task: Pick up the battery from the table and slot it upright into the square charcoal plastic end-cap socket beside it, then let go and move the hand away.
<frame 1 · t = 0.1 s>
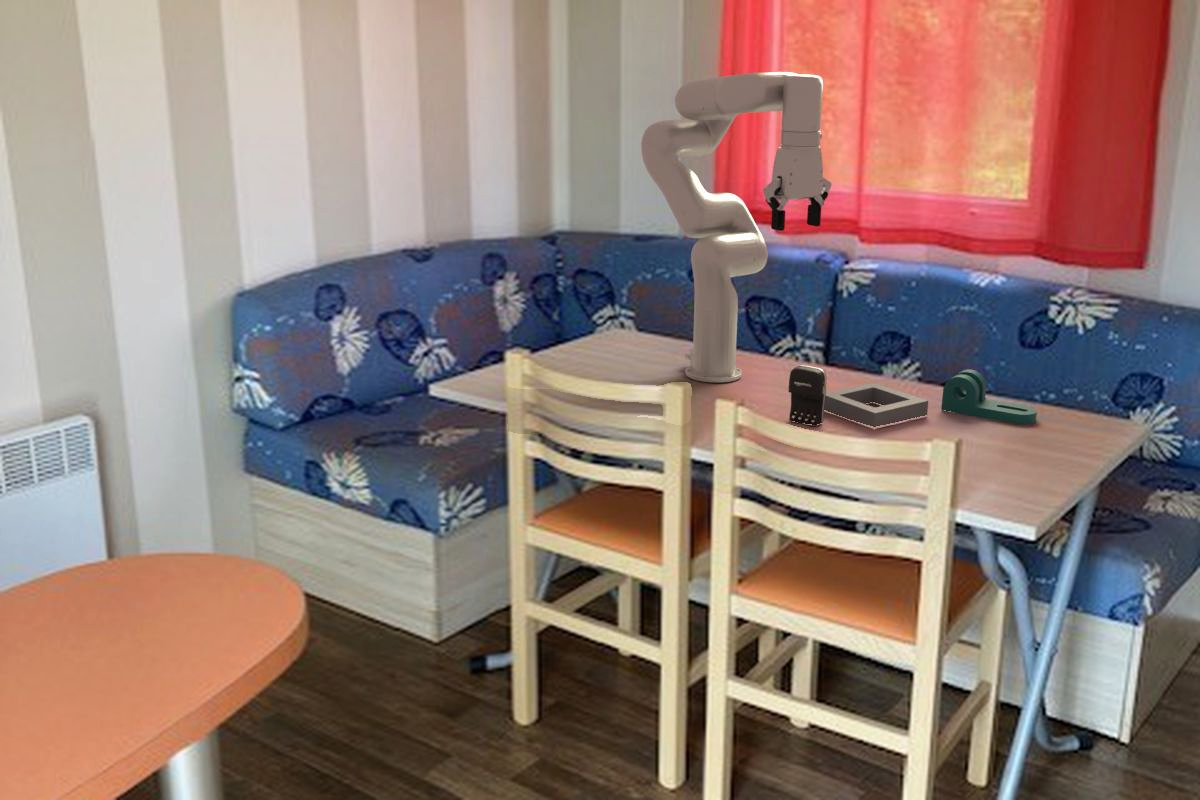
hand: (795, 227, 244), 37 cm above the table, tool pointing down, fingers open, 9 cm apart
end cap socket: (873, 413, 249), on the table
bracket: (989, 416, 249), on the table
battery: (804, 424, 243), on the table
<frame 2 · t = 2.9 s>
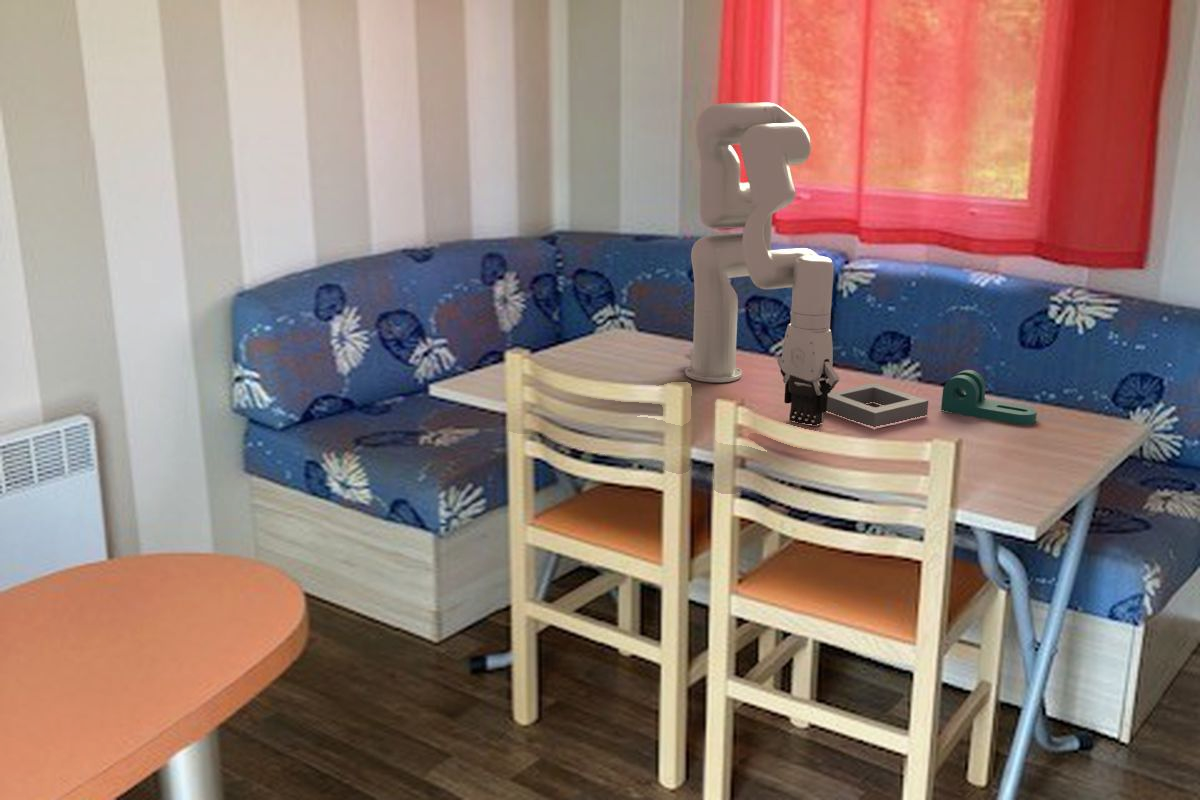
hand: (805, 406, 242), 3 cm above the table, tool pointing down, fingers closed on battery, 7 cm apart
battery: (804, 424, 243), on the table, touching gripper
everything else where it was.
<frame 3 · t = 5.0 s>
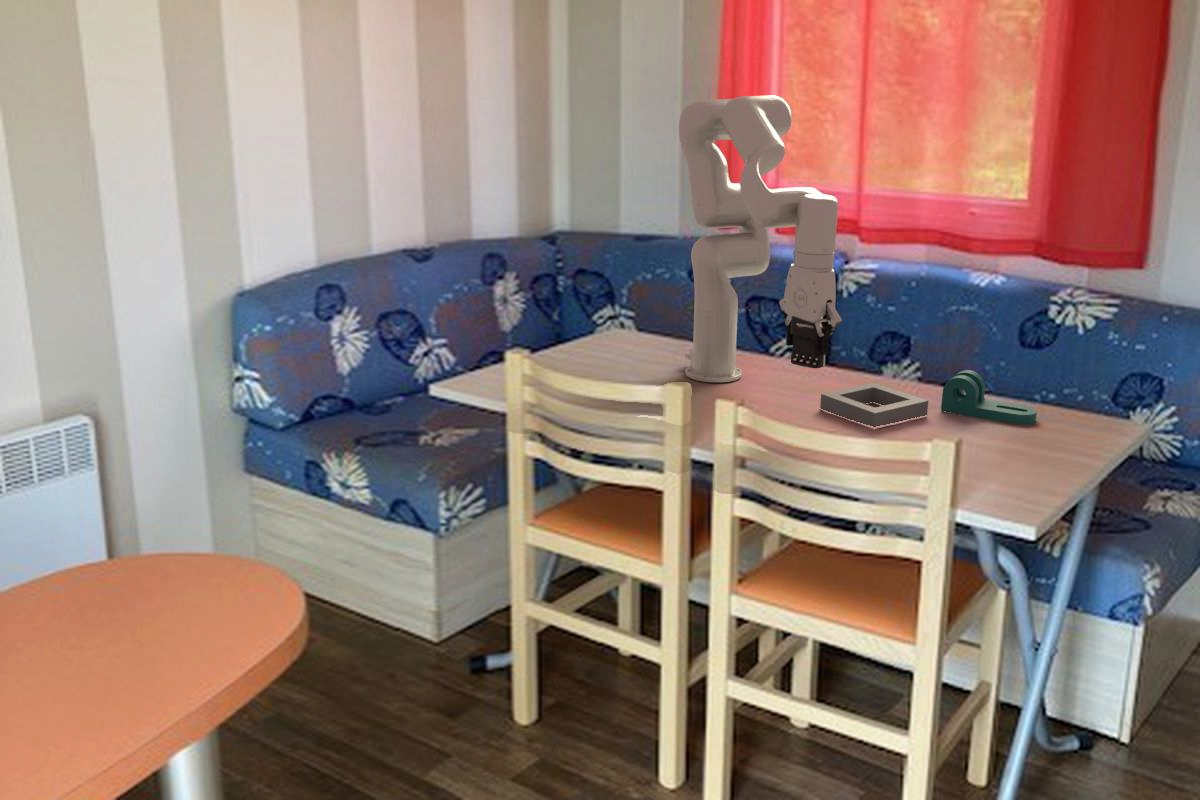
hand: (806, 349, 239), 15 cm above the table, tool pointing down, fingers closed on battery, 7 cm apart
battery: (805, 366, 240), point 11 cm above the table, touching gripper
everything else where it was.
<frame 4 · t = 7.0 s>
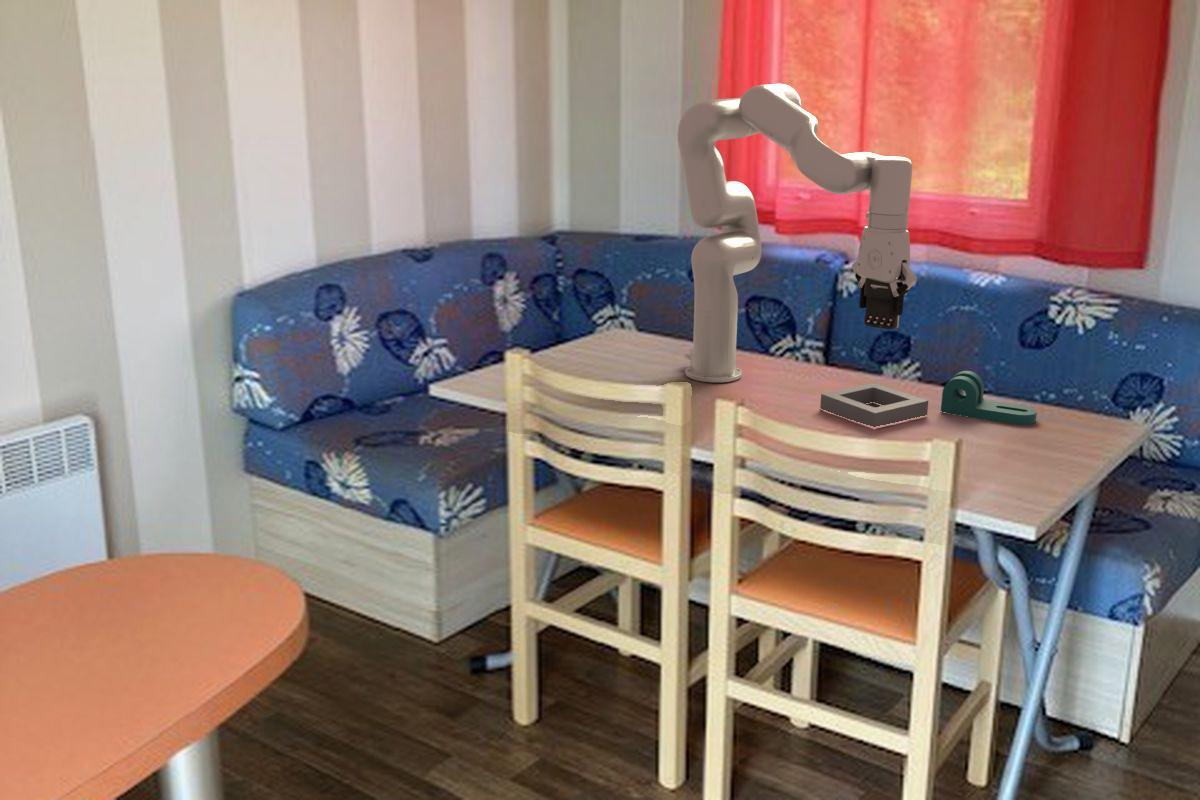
hand: (880, 310, 243), 21 cm above the table, tool pointing down, fingers closed on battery, 7 cm apart
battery: (879, 328, 244), point 18 cm above the table, touching gripper
everything else where it was.
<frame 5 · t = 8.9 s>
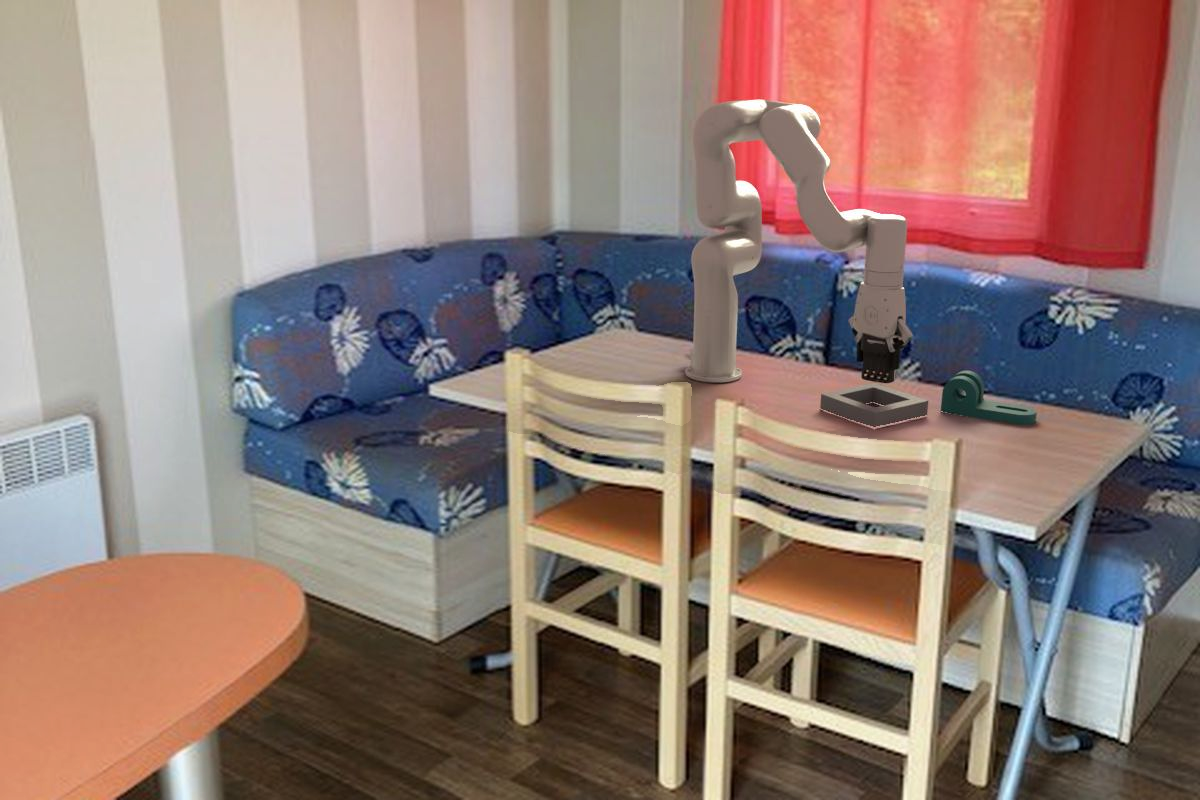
hand: (877, 364, 246), 10 cm above the table, tool pointing down, fingers closed on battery, 7 cm apart
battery: (876, 382, 247), point 7 cm above the table, touching gripper
everything else where it was.
when the fingers open (5 cm above the table, at t = 10.6 s): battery drops 1 cm, resting in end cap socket.
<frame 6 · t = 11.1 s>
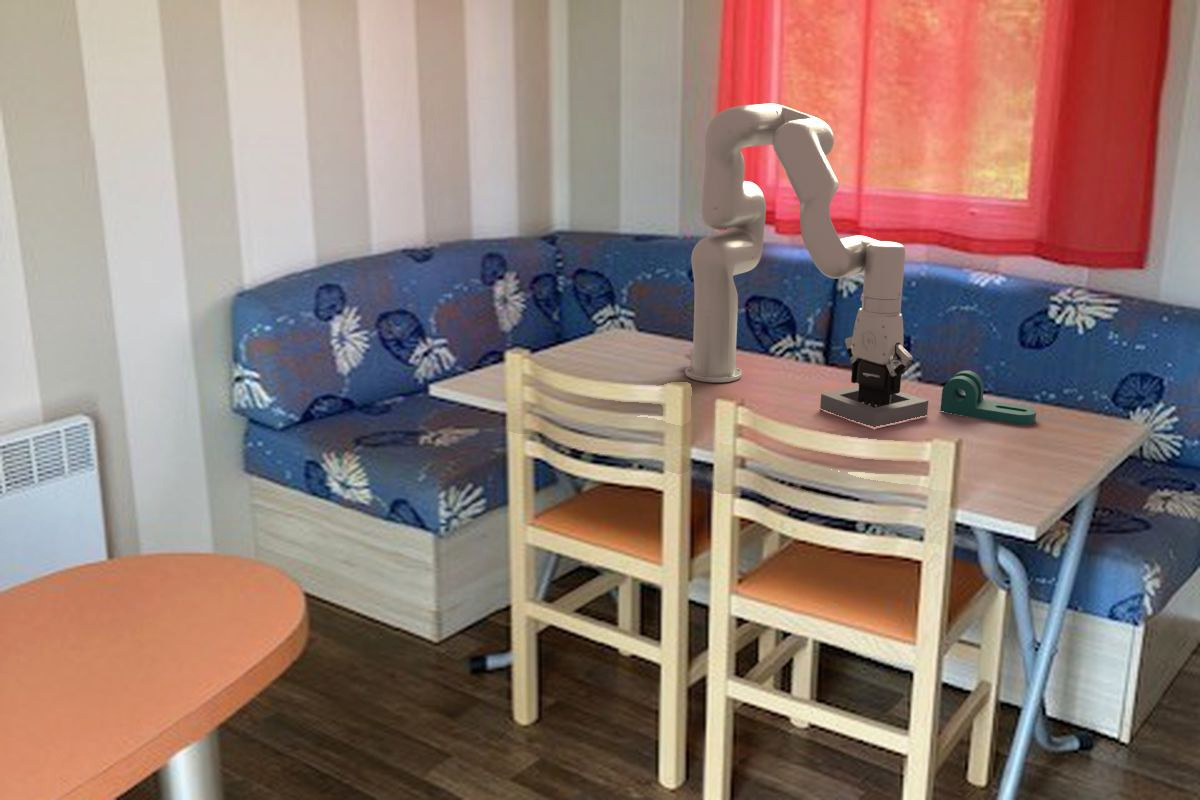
hand: (875, 387, 247), 6 cm above the table, tool pointing down, fingers open, 9 cm apart
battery: (871, 414, 249), resting in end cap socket
everything else where it was.
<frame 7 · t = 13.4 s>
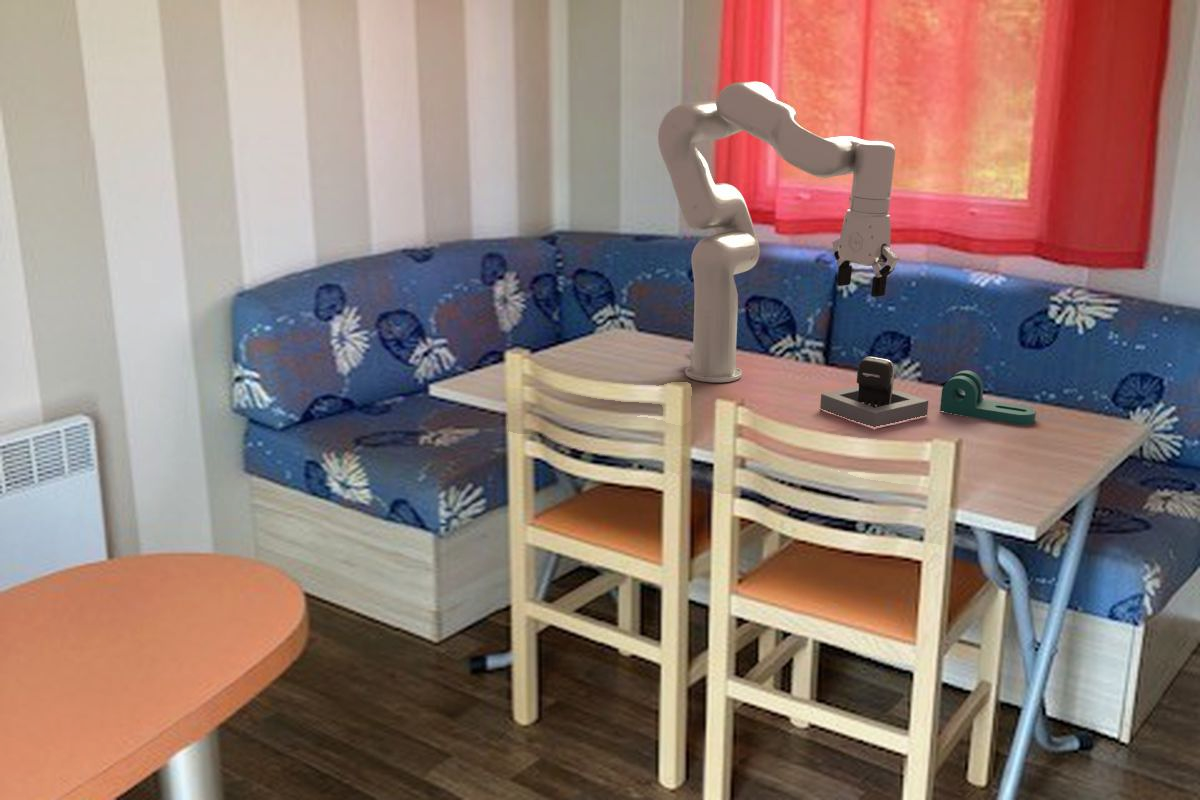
hand: (860, 290, 247), 24 cm above the table, tool pointing down, fingers open, 9 cm apart
nothing on the table moved.
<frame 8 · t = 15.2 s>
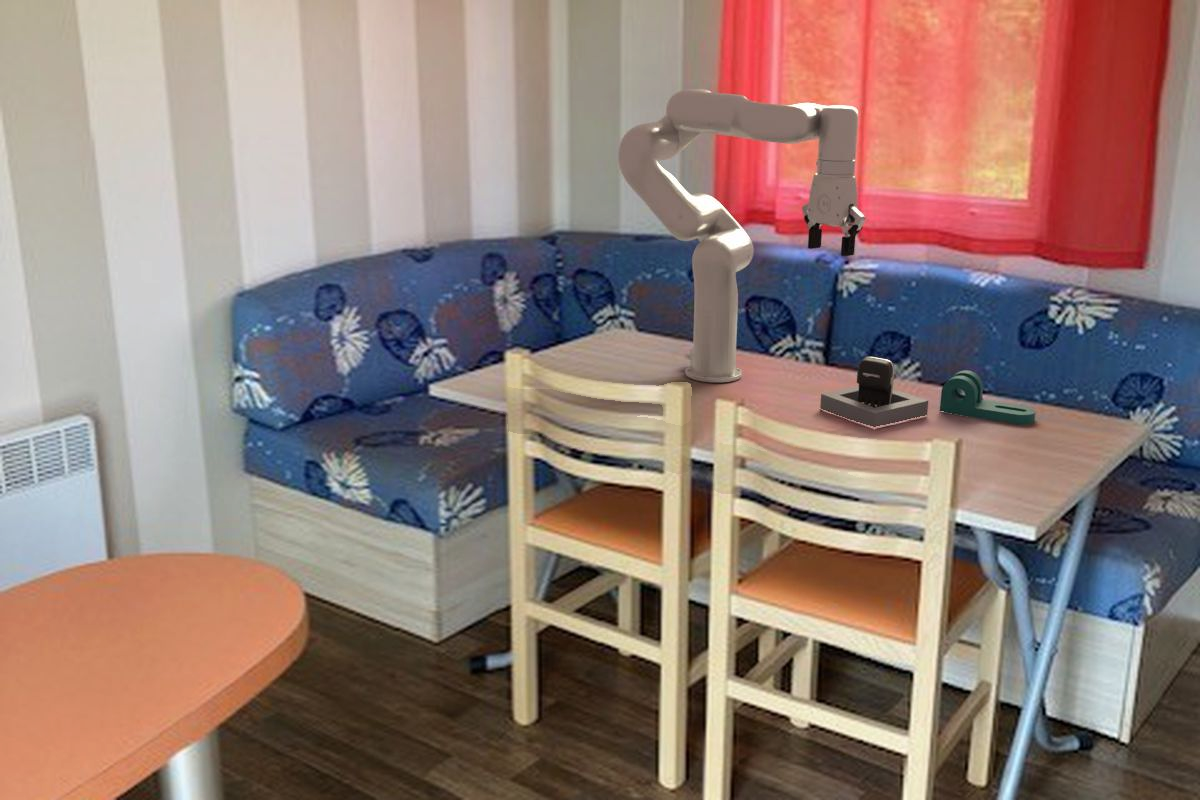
hand: (830, 251, 254), 30 cm above the table, tool pointing down, fingers open, 9 cm apart
nothing on the table moved.
at the end: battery 0.3 cm off-centre on the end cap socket, point 0.0 cm above the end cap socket's base; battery tilted 0°; the gripper is holding nothing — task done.
